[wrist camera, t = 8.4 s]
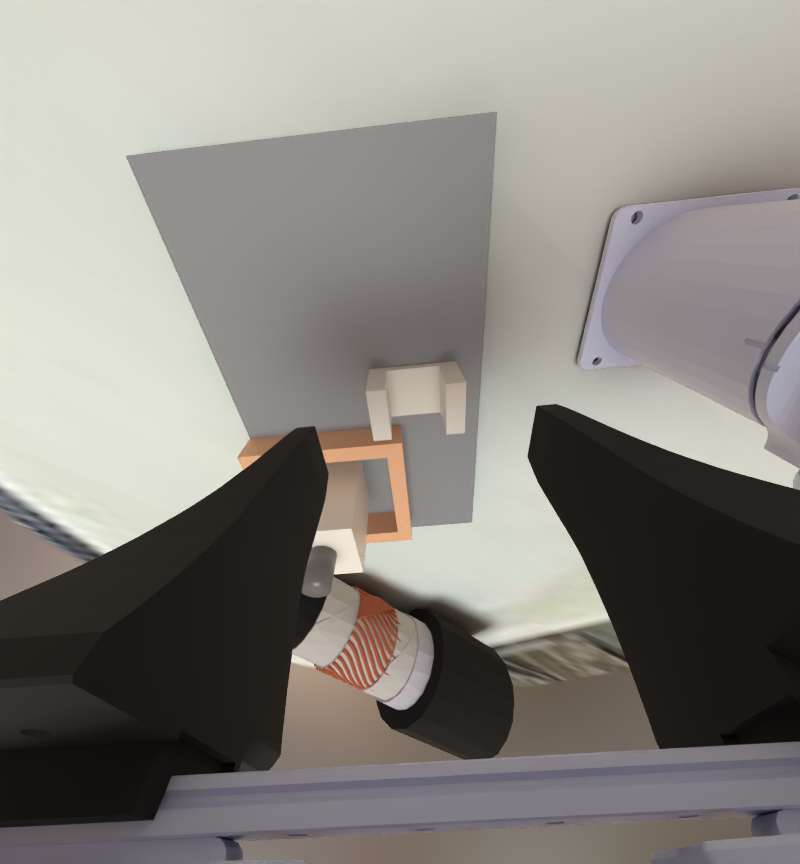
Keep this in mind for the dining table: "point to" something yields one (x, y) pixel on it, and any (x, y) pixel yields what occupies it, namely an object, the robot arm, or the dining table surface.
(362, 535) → the connector
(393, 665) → the cable
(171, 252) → the board
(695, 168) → the dining table surface
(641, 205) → the robot arm
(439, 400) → the clip
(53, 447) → the dining table surface
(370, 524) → the frame
